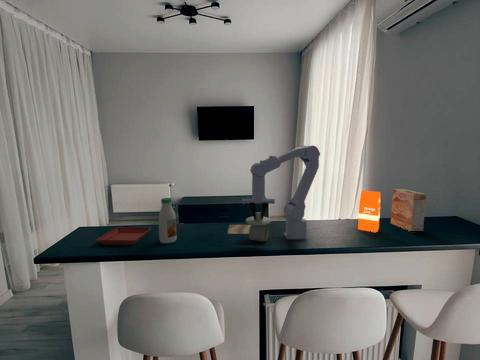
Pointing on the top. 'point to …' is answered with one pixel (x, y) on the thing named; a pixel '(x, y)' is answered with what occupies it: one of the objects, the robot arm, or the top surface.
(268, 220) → the lid
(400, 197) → the coffeecake box
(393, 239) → the top surface
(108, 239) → the plant saucer
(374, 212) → the orange juice
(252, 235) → the ceramic mug
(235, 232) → the trivet
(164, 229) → the milk bottle
